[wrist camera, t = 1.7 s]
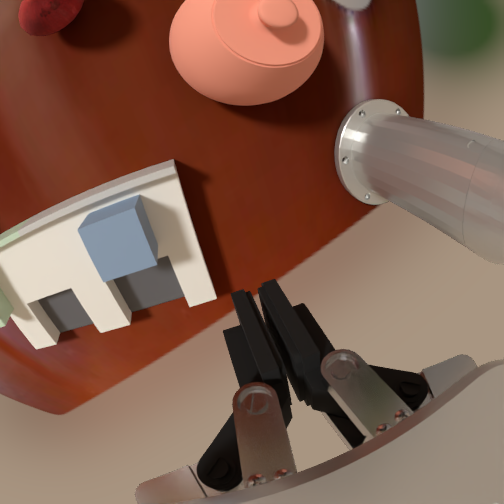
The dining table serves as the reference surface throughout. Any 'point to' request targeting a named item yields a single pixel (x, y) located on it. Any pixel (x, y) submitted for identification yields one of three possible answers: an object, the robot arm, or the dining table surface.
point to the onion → (47, 15)
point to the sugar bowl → (246, 47)
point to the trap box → (83, 270)
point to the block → (119, 239)
